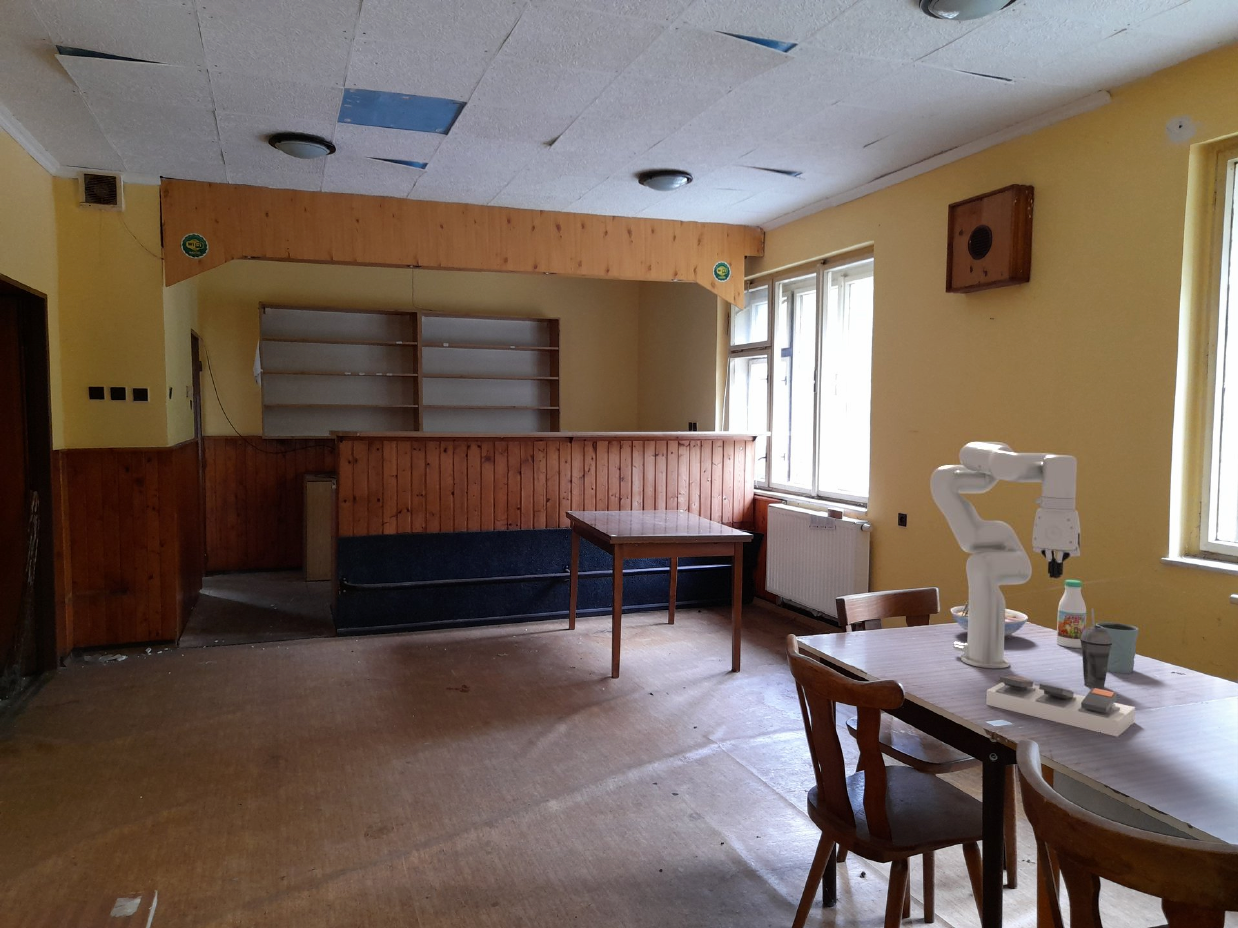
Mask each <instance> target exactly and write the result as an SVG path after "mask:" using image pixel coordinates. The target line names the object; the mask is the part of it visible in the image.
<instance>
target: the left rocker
mask: <svg viewBox="0 0 1238 928" xmlns="http://www.w3.org/2000/svg"><path fill="white" fill-rule="evenodd" d="M998 682H999V683H1004V685H1006V686H1011V687H1015V688H1020V689H1024V690H1027V687H1033V685H1034V681H1033V680H1030V679H1026V678H1021V677H1017V676H999V677H998Z"/></svg>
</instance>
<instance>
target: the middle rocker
mask: <svg viewBox="0 0 1238 928" xmlns="http://www.w3.org/2000/svg"><path fill="white" fill-rule="evenodd" d="M1038 686H1039V689H1041V690H1044V694H1046V695H1051V696H1055V697H1060V698H1064V699H1068V696H1070V697H1073V696H1074V694H1075V692H1074V691H1072V690H1070V689H1066V688H1061V687H1058V686H1052V685H1046V684H1044V683H1043V684H1042V683H1039V685H1038Z"/></svg>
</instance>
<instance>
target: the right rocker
mask: <svg viewBox="0 0 1238 928" xmlns="http://www.w3.org/2000/svg"><path fill="white" fill-rule="evenodd" d="M1117 699H1118V692H1114V691H1110V690H1106V689H1105V690H1104V689H1102V688H1091V689H1090V691H1088V693H1087V695H1086V697H1085V698H1084V700H1083V701H1082V702H1081V708H1085V709H1090V710H1094V711H1099V712H1103V713H1107V712H1108V710H1109V709H1112V705H1113V703H1116V701H1117Z"/></svg>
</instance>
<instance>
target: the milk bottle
mask: <svg viewBox="0 0 1238 928" xmlns="http://www.w3.org/2000/svg"><path fill="white" fill-rule="evenodd" d="M1082 585H1083V582H1082V581H1081V580H1078V579H1077V580H1076V579H1066V580H1064V588H1065V590H1064V592H1063V595H1062V597H1061V598H1060V600H1059V604H1058V609H1057V622H1056V624H1057V626H1056V628H1057V629H1056V643H1057V645H1060V646H1062V647H1067V648H1074V649H1082V648H1081V641H1080V639H1081V635H1082V633H1083V631H1084V630H1085V629H1086V628H1087V607H1086V602H1085V600H1084V598H1083V596H1082V591H1081V589H1083V587H1082Z"/></svg>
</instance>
